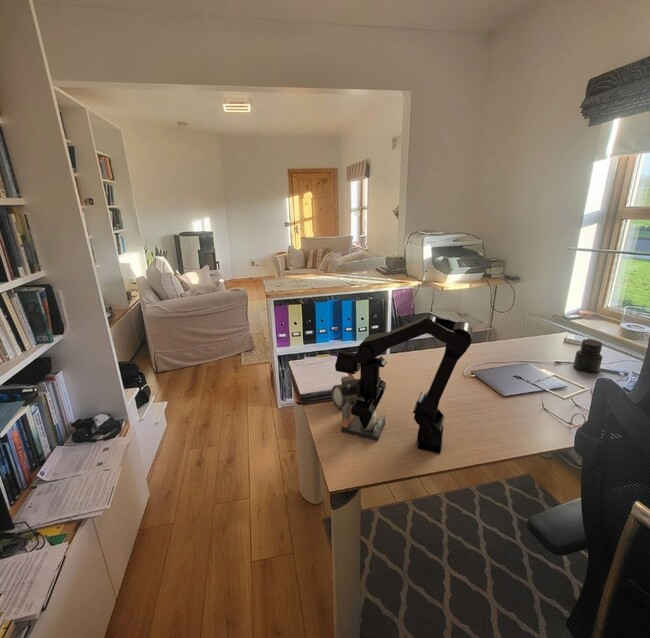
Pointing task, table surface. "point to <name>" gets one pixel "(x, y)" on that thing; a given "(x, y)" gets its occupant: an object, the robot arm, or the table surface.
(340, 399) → the pipe fitting
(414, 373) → the table surface
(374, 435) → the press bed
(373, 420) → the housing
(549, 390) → the photo frame
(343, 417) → the tan and grey slab
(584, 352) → the ink bottle
